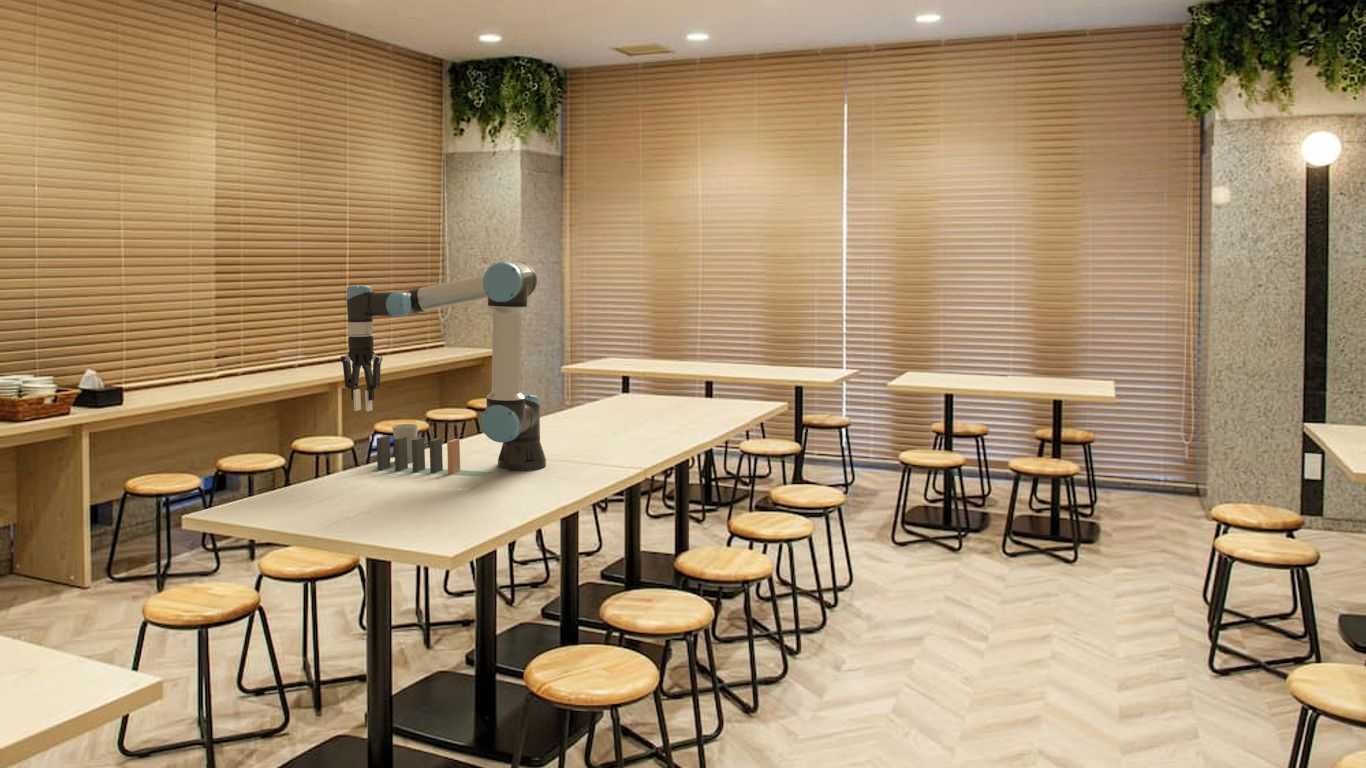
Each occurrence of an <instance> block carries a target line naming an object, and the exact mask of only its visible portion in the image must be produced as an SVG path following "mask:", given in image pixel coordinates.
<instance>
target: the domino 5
mask: <svg viewBox="0 0 1366 768" xmlns="http://www.w3.org/2000/svg"><path fill="white" fill-rule="evenodd" d="M446 444H447V446H446V447H447V449H446V450H447V451H446V452H447V470H448V474H454V473H457V472H459V471H460V470H461V451H460V450H461V449H460V438H453V439H450V440H447V442H446Z"/></svg>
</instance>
